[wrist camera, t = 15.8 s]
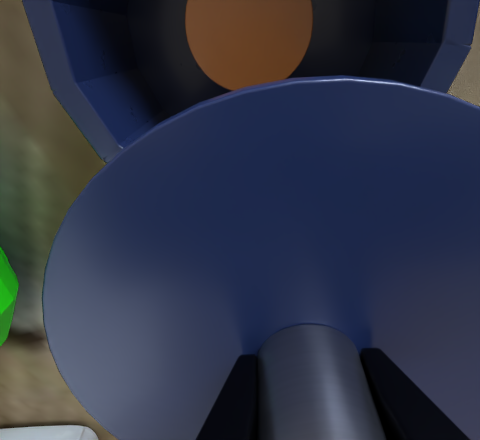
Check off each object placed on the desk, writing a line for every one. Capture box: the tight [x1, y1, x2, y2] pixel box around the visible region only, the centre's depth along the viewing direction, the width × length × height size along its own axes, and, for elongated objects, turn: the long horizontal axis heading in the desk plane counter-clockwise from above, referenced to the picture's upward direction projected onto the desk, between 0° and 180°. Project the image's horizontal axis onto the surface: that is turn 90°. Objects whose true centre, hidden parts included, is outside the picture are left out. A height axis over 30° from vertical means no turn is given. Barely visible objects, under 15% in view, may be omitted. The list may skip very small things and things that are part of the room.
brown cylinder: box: [185, 0, 313, 91], centre depth 13 cm, size 4×4×4 cm
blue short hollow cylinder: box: [22, 0, 480, 163], centre depth 12 cm, size 12×12×6 cm
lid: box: [42, 75, 480, 440], centre depth 7 cm, size 13×13×6 cm
